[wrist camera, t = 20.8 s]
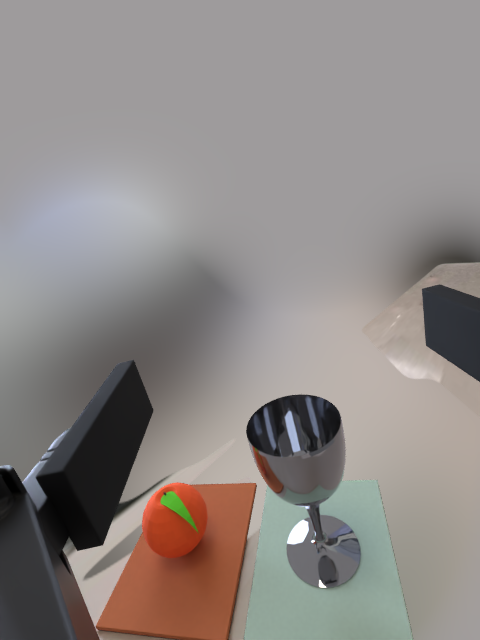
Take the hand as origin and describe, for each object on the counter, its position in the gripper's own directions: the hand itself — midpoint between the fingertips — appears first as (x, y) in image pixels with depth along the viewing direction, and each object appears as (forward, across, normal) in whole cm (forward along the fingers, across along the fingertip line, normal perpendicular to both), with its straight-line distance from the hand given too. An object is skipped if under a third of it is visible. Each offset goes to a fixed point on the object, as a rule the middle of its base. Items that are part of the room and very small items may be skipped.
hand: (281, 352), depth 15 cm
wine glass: (+10, 0, -26) cm, 28 cm away
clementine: (+13, -14, -26) cm, 32 cm away
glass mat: (+10, 0, -27) cm, 28 cm away
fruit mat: (+13, -14, -27) cm, 33 cm away
